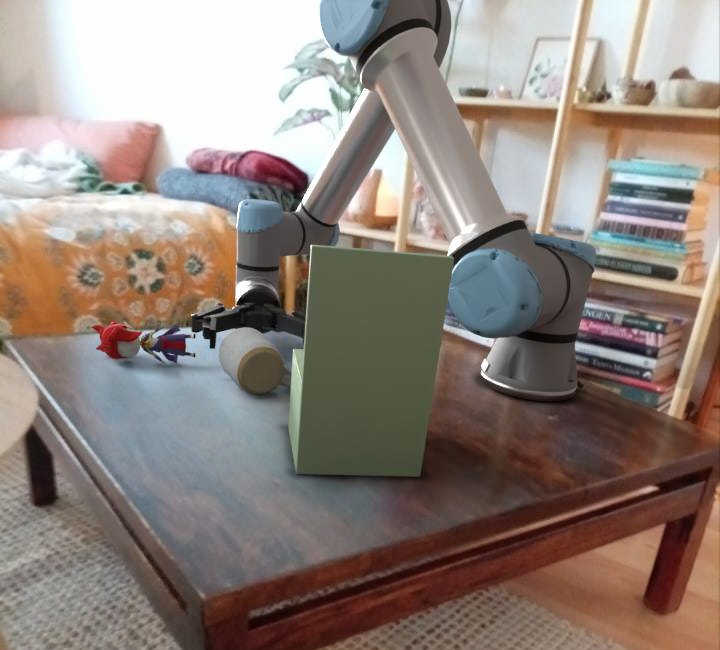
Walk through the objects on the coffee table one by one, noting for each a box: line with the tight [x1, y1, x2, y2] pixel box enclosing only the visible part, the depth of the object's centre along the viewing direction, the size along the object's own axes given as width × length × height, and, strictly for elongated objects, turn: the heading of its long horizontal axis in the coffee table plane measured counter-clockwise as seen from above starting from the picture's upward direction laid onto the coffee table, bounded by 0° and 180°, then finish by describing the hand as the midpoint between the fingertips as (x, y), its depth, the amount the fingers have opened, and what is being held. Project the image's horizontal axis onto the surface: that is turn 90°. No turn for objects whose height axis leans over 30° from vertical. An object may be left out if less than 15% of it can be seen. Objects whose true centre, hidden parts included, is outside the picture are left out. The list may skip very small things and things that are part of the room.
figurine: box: [91, 319, 197, 366], centre depth 104 cm, size 6×8×15 cm
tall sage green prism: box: [287, 245, 454, 478], centre depth 78 cm, size 14×13×24 cm
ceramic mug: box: [218, 327, 292, 395], centre depth 99 cm, size 11×8×8 cm
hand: (261, 342), depth 99 cm, fingers open, 13 cm apart
